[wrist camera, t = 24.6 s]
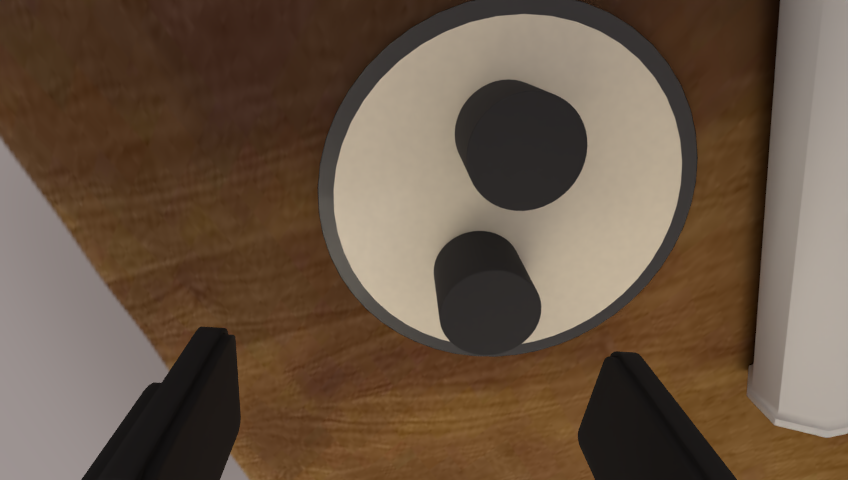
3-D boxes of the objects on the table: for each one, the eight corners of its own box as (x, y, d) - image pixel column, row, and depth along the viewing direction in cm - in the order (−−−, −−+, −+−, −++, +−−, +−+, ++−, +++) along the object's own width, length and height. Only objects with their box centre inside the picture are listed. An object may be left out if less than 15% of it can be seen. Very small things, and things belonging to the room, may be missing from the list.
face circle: (315, 337, 24) (313, 345, 24) (325, -38, 17) (323, -41, 16) (621, 360, 26) (626, 367, 26) (755, 27, 19) (765, 27, 18)
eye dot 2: (428, 302, 23) (433, 352, 19) (439, 225, 21) (447, 265, 18) (509, 308, 24) (529, 359, 20) (528, 234, 22) (553, 275, 18)
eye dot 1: (447, 174, 20) (457, 205, 17) (463, 72, 18) (478, 82, 15) (540, 184, 21) (569, 216, 17) (564, 86, 19) (603, 99, 15)
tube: (818, -147, 13) (764, 435, 23) (1082, -235, 11) (895, 442, 21) (753, -112, 17) (732, 364, 28) (934, -170, 16) (838, 363, 26)
